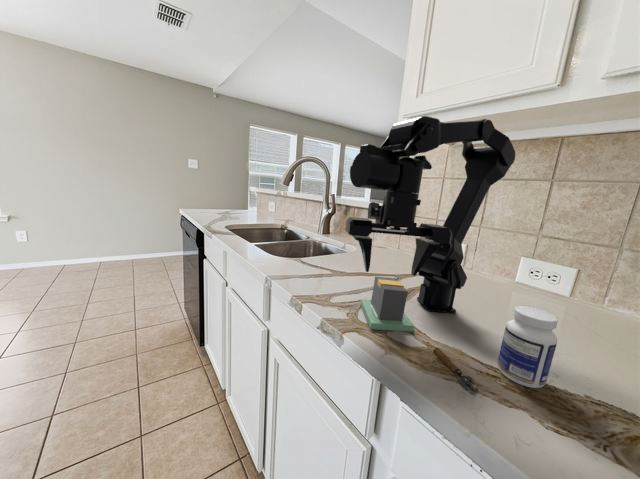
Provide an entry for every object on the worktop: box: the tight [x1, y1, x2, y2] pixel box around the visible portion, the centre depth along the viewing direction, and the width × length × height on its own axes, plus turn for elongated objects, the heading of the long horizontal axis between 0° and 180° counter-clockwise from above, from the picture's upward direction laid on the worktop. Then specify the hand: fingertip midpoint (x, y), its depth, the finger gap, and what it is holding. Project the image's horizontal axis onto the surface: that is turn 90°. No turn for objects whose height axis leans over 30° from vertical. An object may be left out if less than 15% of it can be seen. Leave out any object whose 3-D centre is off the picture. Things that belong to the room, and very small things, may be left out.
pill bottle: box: [496, 305, 559, 389], centre depth 36 cm, size 6×6×10 cm
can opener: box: [432, 347, 479, 397], centre depth 37 cm, size 9×2×1 cm, turn 5°
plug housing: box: [371, 276, 409, 321], centre depth 50 cm, size 7×4×6 cm, turn 2°
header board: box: [360, 299, 415, 333], centre depth 51 cm, size 10×8×4 cm
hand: (390, 273), depth 49 cm, fingers open, 9 cm apart
